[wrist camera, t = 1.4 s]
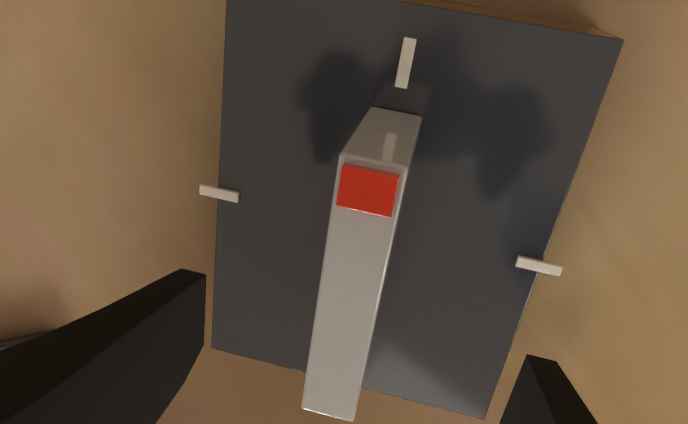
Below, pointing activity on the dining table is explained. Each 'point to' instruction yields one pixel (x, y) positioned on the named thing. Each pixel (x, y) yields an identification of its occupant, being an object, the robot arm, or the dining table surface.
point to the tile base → (424, 182)
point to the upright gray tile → (358, 258)
